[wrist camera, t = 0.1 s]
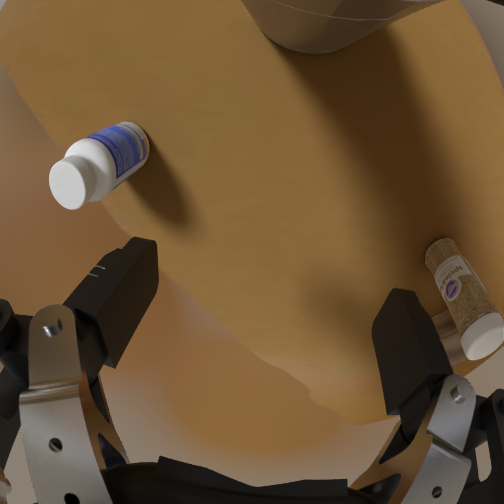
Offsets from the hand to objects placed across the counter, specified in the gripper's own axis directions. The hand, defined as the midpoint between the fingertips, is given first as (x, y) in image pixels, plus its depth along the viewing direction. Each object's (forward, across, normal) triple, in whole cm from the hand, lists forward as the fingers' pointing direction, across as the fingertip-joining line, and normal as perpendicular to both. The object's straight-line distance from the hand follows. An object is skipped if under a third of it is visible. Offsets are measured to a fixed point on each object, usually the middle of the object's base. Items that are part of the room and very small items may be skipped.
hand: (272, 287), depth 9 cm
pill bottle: (+18, +15, 0) cm, 23 cm away
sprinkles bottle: (+18, -20, +5) cm, 27 cm away
